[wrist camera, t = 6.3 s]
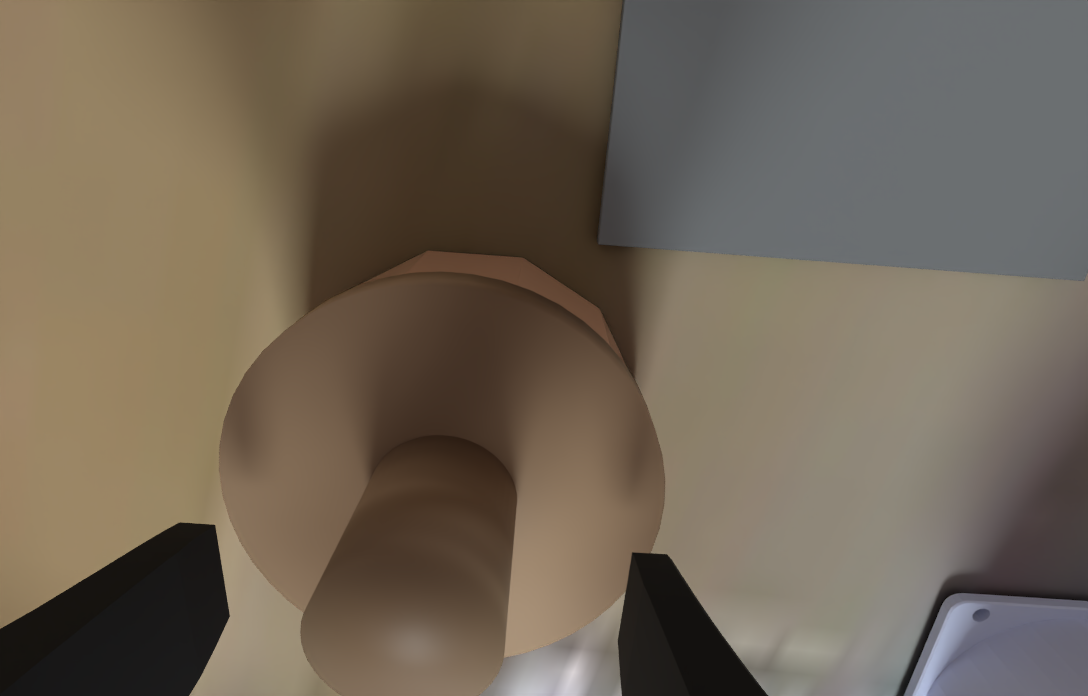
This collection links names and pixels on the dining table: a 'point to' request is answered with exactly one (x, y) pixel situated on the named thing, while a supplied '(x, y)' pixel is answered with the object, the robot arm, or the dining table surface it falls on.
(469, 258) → the bowl
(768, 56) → the mat
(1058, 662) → the robot arm
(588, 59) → the dining table surface
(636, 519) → the lid
